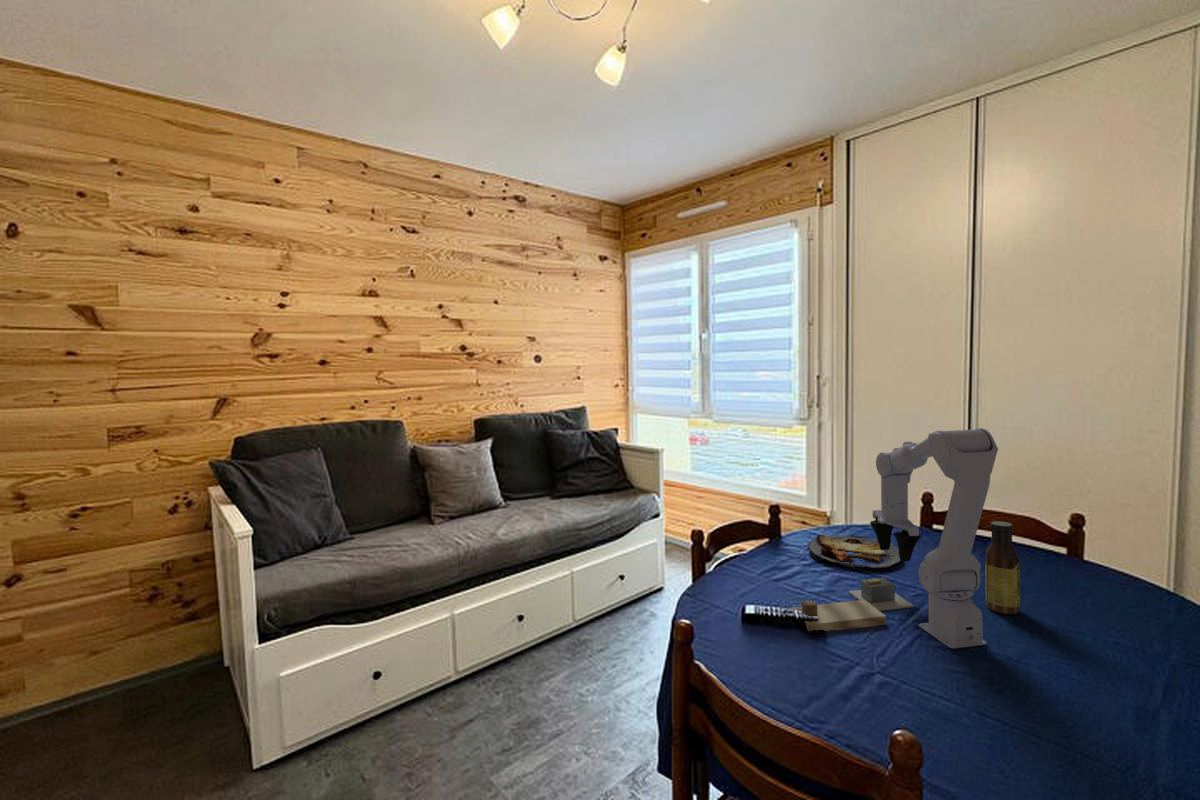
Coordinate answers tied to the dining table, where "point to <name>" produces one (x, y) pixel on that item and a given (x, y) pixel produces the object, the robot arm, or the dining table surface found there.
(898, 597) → the rubber mat
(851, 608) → the body
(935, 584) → the robot arm
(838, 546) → the food plate
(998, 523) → the sauce bottle
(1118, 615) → the dining table surface
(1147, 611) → the dining table surface
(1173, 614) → the dining table surface
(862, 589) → the grey block
